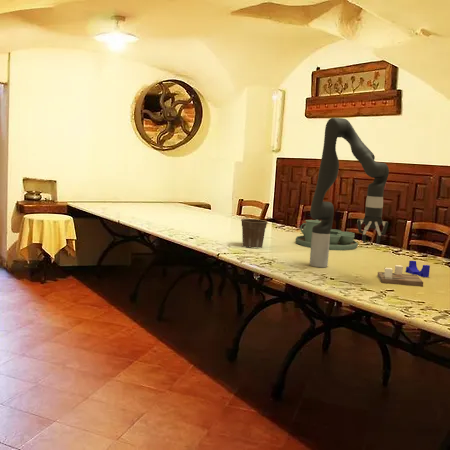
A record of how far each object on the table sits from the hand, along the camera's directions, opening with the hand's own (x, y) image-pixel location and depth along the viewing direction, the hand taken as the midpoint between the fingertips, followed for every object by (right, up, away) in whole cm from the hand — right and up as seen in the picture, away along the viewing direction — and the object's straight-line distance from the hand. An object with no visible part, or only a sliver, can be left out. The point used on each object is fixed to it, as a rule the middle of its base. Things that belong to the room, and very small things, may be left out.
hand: (370, 242), depth 236 cm
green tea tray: (-1, -5, +101) cm, 101 cm away
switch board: (+15, -18, +4) cm, 23 cm away
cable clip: (+29, -17, +22) cm, 40 cm away
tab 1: (+8, -16, 0) cm, 18 cm away
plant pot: (-50, -5, +78) cm, 93 cm away
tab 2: (+15, -15, +8) cm, 23 cm away
